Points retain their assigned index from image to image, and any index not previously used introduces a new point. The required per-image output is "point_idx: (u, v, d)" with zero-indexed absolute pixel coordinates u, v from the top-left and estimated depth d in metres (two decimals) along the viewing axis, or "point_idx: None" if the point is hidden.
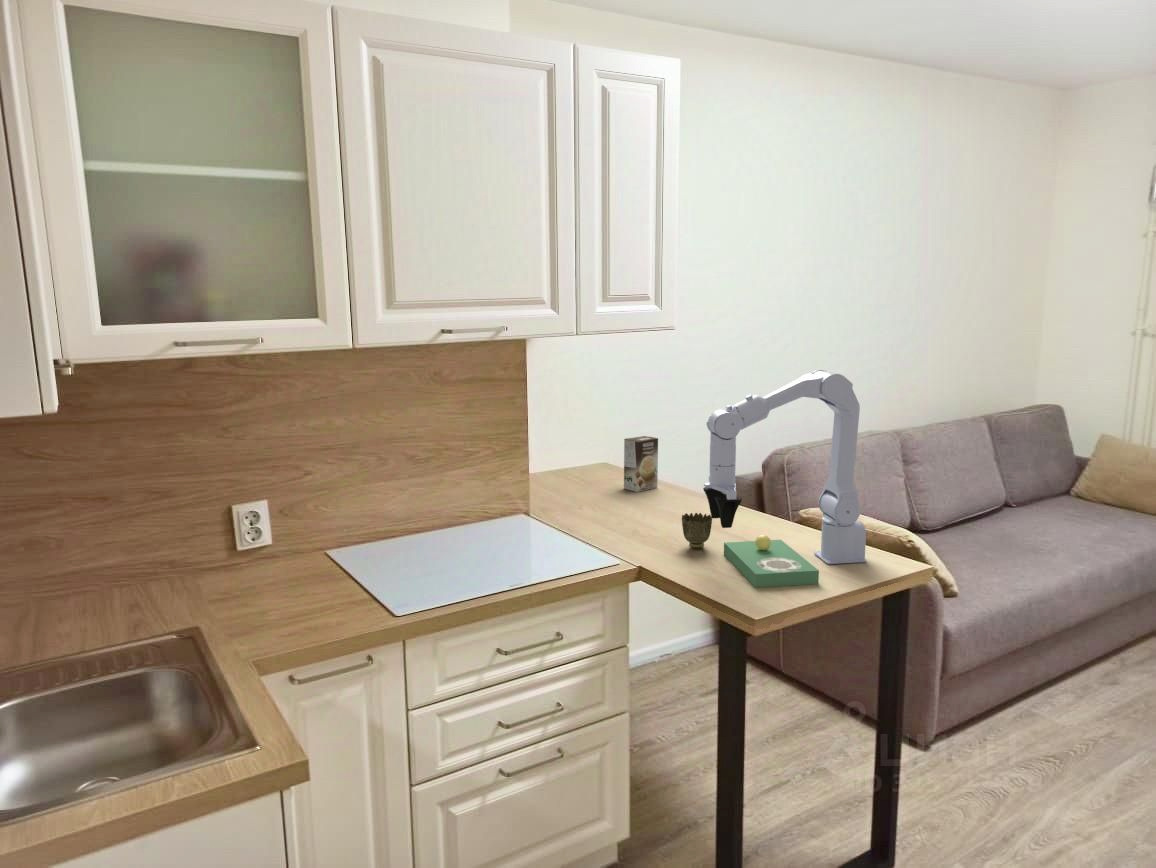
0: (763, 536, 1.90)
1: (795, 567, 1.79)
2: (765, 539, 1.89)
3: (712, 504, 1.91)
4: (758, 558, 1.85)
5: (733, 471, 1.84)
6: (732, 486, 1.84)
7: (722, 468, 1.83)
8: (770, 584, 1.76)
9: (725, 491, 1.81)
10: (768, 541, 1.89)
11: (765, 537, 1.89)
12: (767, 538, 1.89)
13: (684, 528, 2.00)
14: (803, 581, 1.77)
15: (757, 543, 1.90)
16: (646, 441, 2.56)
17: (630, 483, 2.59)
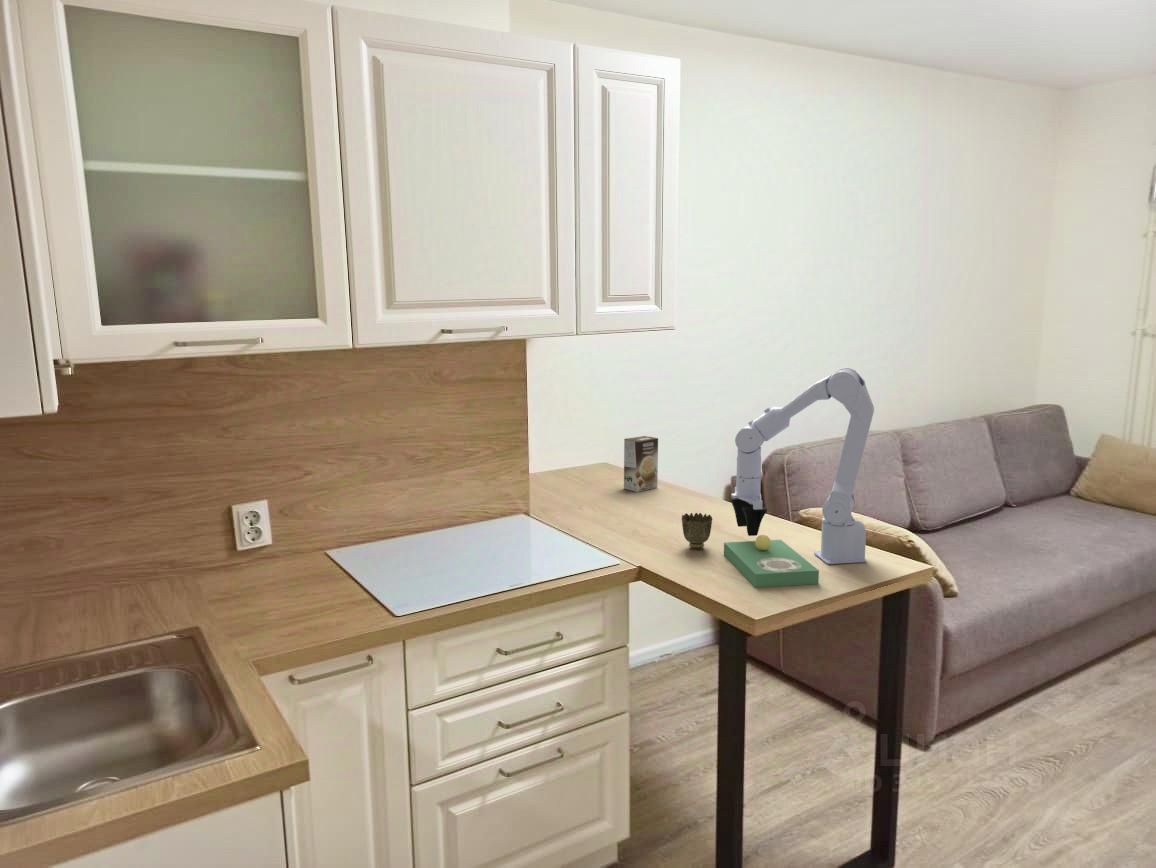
0: (763, 536, 1.90)
1: (795, 567, 1.79)
2: (765, 539, 1.89)
3: (738, 513, 2.04)
4: (758, 558, 1.85)
5: (759, 483, 1.97)
6: (758, 497, 1.97)
7: (748, 480, 1.96)
8: (770, 584, 1.76)
9: (752, 501, 1.94)
10: (768, 541, 1.89)
11: (765, 537, 1.89)
12: (767, 538, 1.89)
13: (684, 528, 2.00)
14: (803, 581, 1.77)
15: (757, 543, 1.90)
16: (646, 441, 2.56)
17: (630, 483, 2.59)
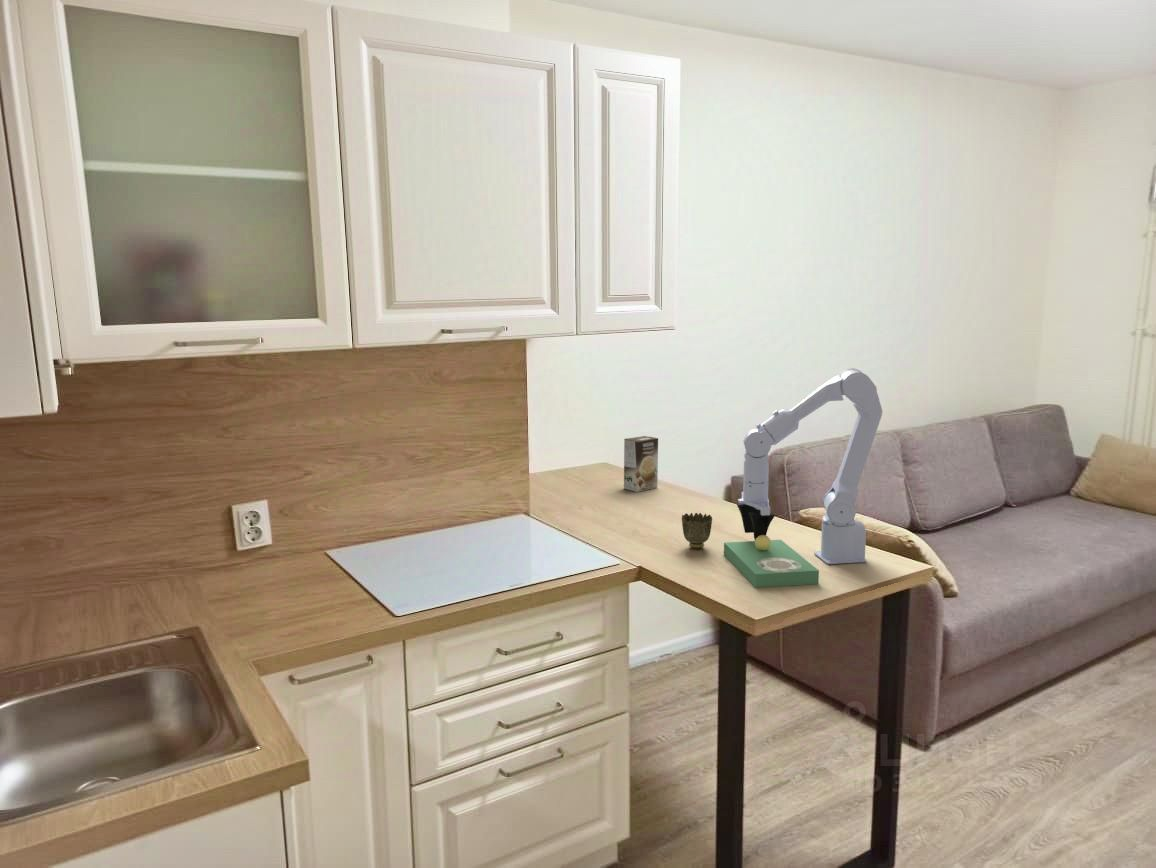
0: (763, 536, 1.90)
1: (795, 567, 1.79)
2: (765, 539, 1.89)
3: (746, 519, 1.99)
4: (758, 558, 1.85)
5: (766, 488, 1.92)
6: (765, 502, 1.92)
7: (756, 485, 1.91)
8: (770, 584, 1.76)
9: (759, 507, 1.89)
10: (768, 541, 1.89)
11: (765, 537, 1.89)
12: (767, 538, 1.89)
13: (684, 528, 2.00)
14: (803, 581, 1.77)
15: (757, 543, 1.90)
16: (646, 441, 2.56)
17: (630, 483, 2.59)
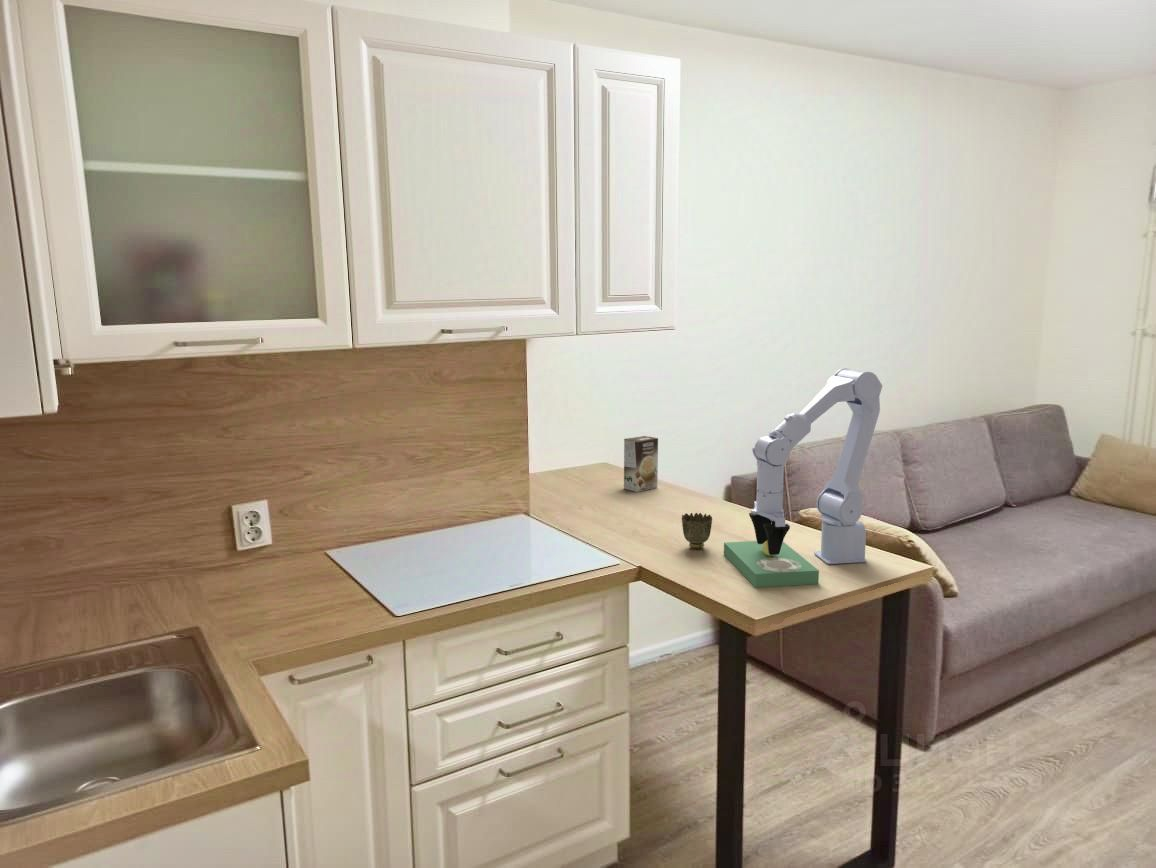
0: (769, 555, 1.87)
1: (795, 567, 1.79)
2: None
3: (758, 529, 1.90)
4: (758, 558, 1.85)
5: (781, 498, 1.83)
6: (780, 513, 1.83)
7: (770, 495, 1.82)
8: (770, 584, 1.76)
9: (774, 518, 1.80)
10: None
11: None
12: None
13: (684, 528, 2.00)
14: (803, 581, 1.77)
15: (762, 548, 1.87)
16: (646, 441, 2.56)
17: (630, 483, 2.59)
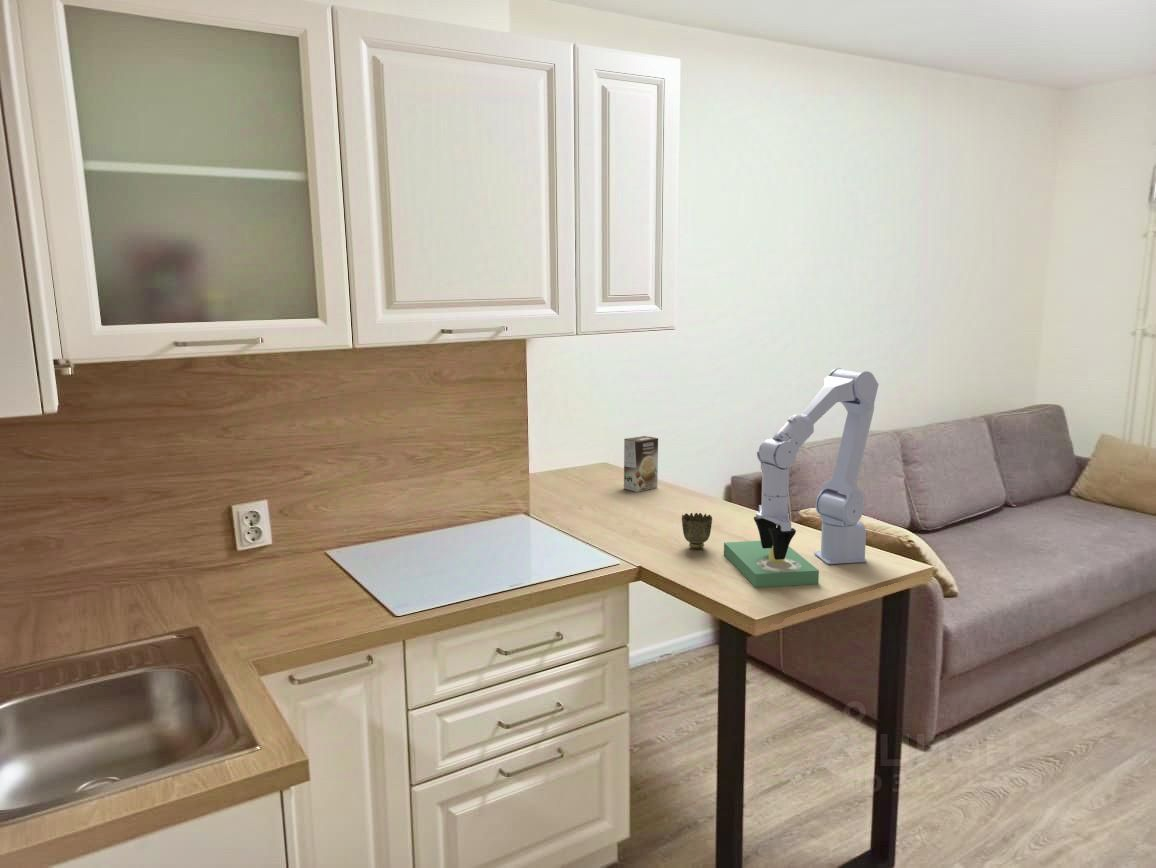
0: None
1: (795, 567, 1.79)
2: None
3: (763, 533, 1.87)
4: (758, 558, 1.85)
5: (786, 501, 1.80)
6: (785, 517, 1.80)
7: (775, 498, 1.79)
8: (770, 584, 1.76)
9: (779, 522, 1.77)
10: None
11: None
12: None
13: (684, 528, 2.00)
14: (803, 581, 1.77)
15: (770, 553, 1.82)
16: (646, 441, 2.56)
17: (630, 483, 2.59)
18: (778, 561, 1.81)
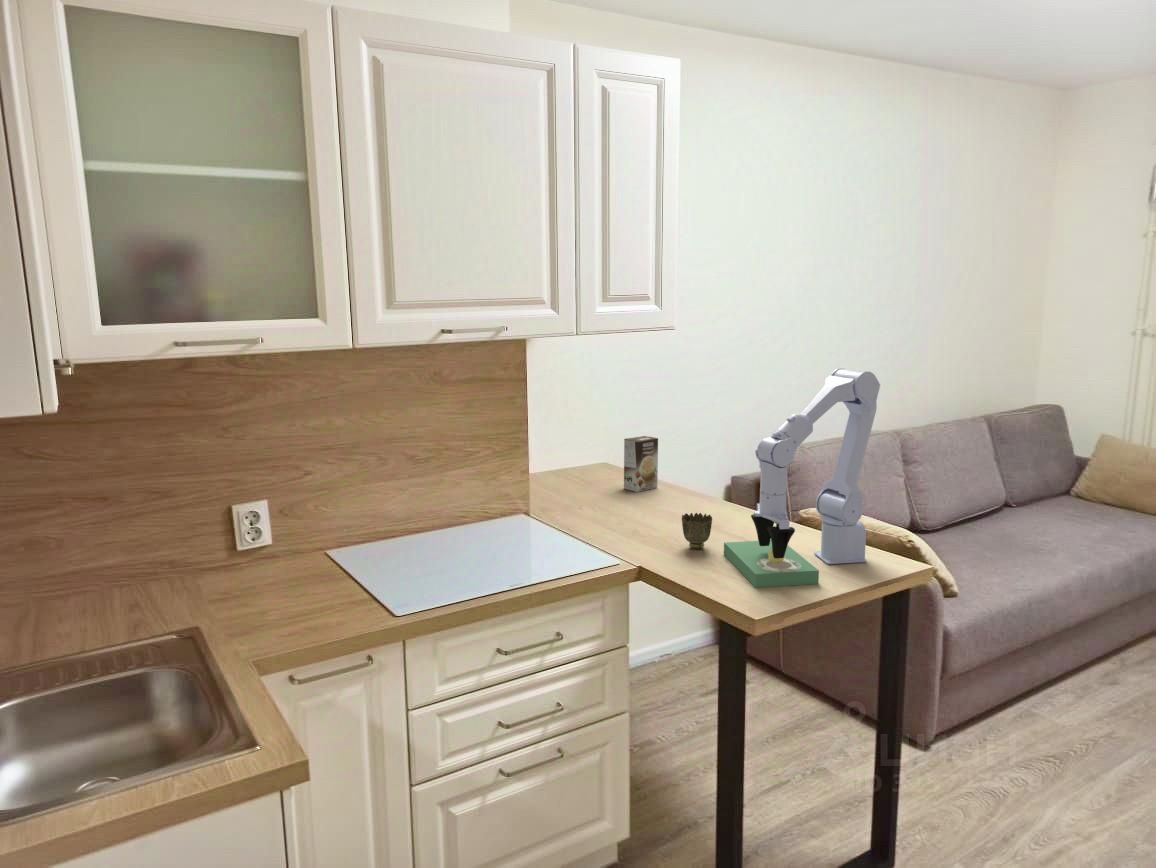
0: None
1: (795, 567, 1.79)
2: None
3: (760, 531, 1.89)
4: (758, 558, 1.85)
5: (784, 500, 1.81)
6: (783, 515, 1.81)
7: (774, 497, 1.80)
8: (770, 584, 1.76)
9: (777, 520, 1.78)
10: None
11: None
12: None
13: (684, 528, 2.00)
14: (803, 581, 1.77)
15: (769, 553, 1.82)
16: (646, 441, 2.56)
17: (630, 483, 2.59)
18: (778, 560, 1.81)
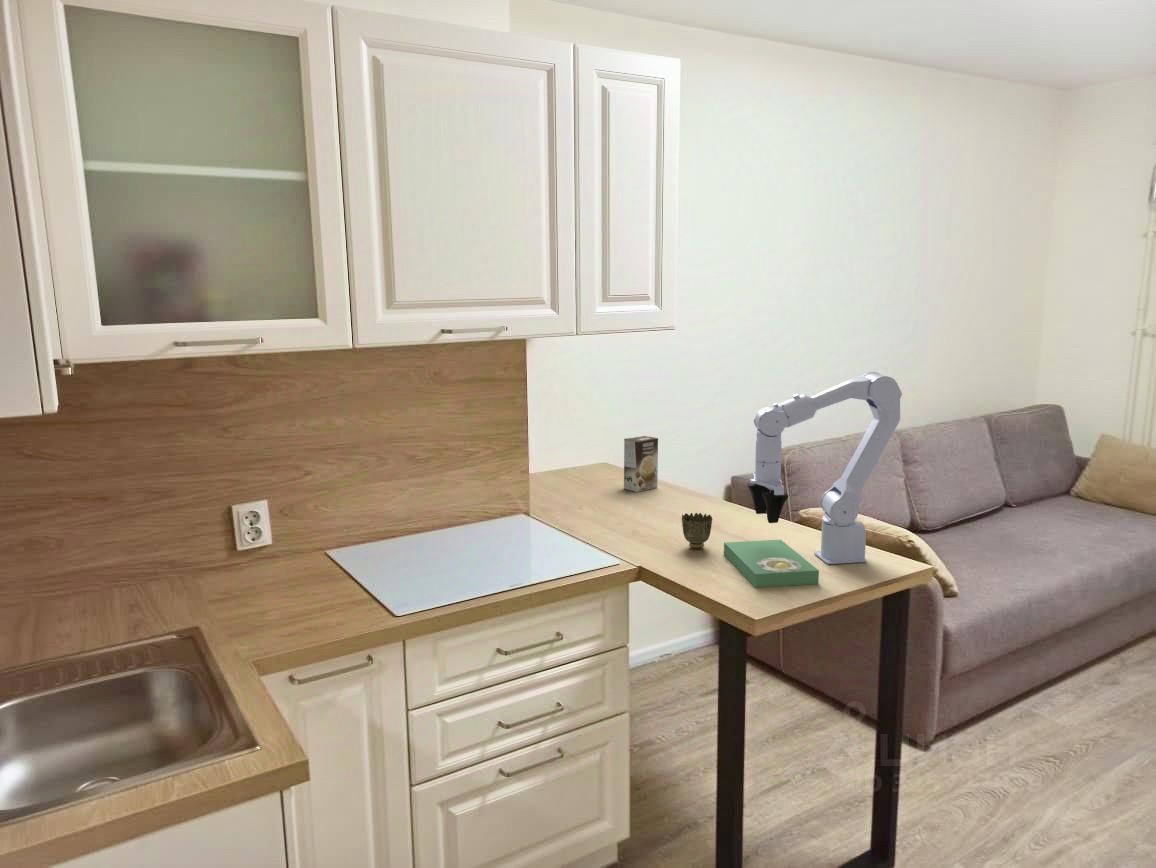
0: None
1: (795, 567, 1.79)
2: None
3: (757, 499, 1.95)
4: (758, 558, 1.85)
5: (779, 467, 1.88)
6: (778, 482, 1.89)
7: (769, 464, 1.87)
8: (770, 584, 1.76)
9: (773, 487, 1.85)
10: None
11: None
12: None
13: (684, 528, 2.00)
14: (803, 581, 1.77)
15: None
16: (646, 441, 2.56)
17: (630, 483, 2.59)
18: None
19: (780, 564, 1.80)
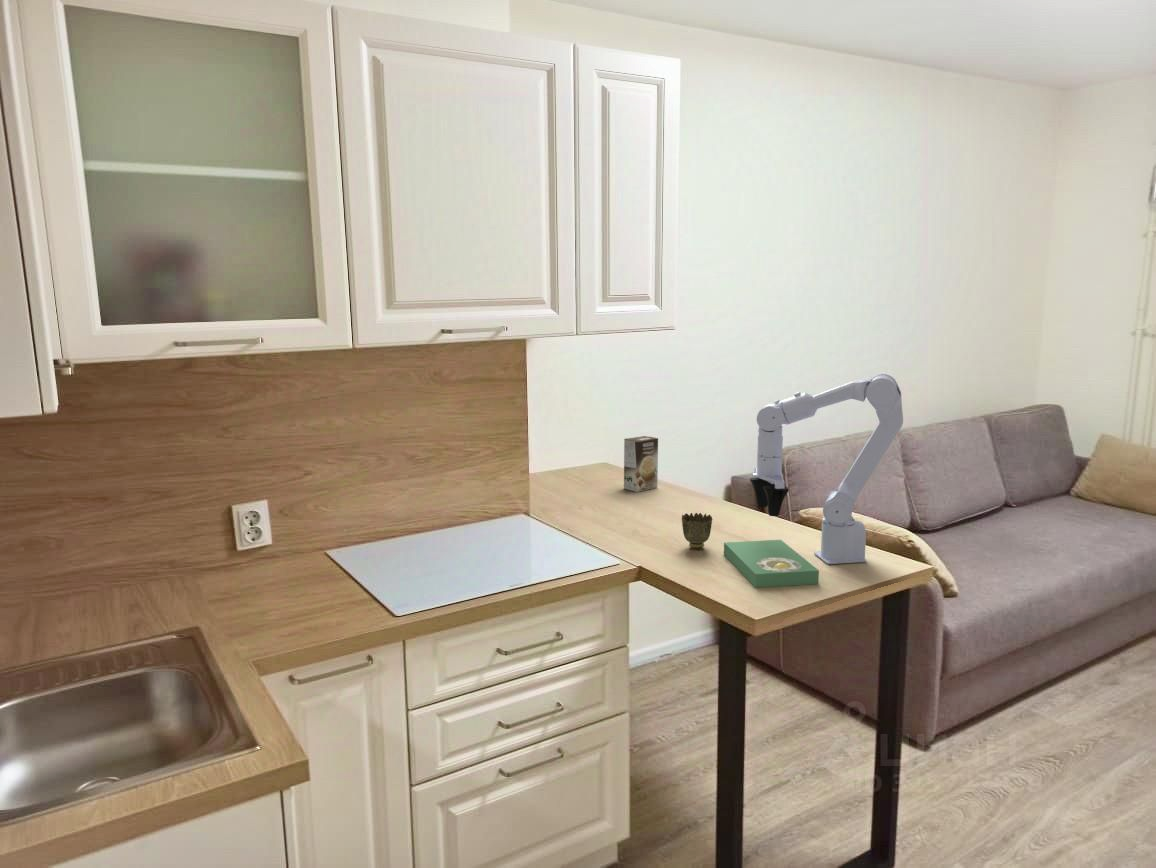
0: None
1: (795, 567, 1.79)
2: None
3: (759, 493, 2.01)
4: (758, 558, 1.85)
5: (780, 462, 1.94)
6: (779, 476, 1.94)
7: (770, 459, 1.93)
8: (770, 584, 1.76)
9: (773, 481, 1.90)
10: None
11: None
12: None
13: (684, 528, 2.00)
14: (803, 581, 1.77)
15: None
16: (646, 441, 2.56)
17: (630, 483, 2.59)
18: None
19: (780, 564, 1.80)
